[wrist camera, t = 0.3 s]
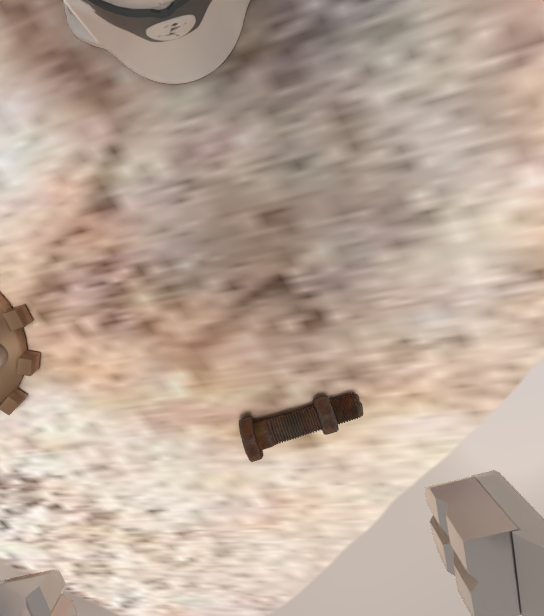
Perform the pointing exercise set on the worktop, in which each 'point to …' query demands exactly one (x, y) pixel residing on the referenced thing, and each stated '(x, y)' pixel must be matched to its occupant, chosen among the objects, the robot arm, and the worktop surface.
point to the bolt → (298, 423)
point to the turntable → (14, 355)
